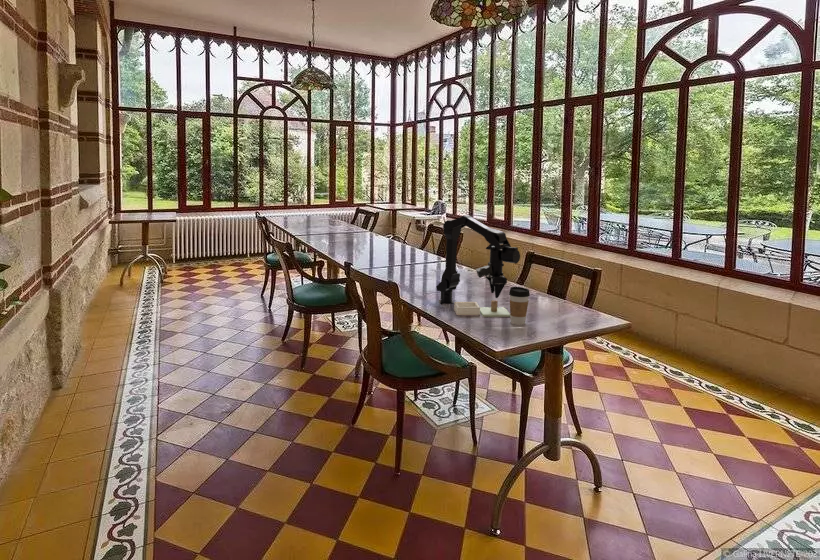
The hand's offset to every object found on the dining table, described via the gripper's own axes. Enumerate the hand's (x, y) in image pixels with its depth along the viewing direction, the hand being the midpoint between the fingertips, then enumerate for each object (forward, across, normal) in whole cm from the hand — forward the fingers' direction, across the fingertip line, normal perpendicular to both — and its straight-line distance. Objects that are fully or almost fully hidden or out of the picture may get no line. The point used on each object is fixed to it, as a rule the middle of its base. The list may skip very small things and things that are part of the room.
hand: (494, 295), depth 235 cm
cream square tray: (+8, -1, -12) cm, 15 cm away
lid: (+8, 0, 0) cm, 8 cm away
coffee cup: (+9, +15, +7) cm, 19 cm away
